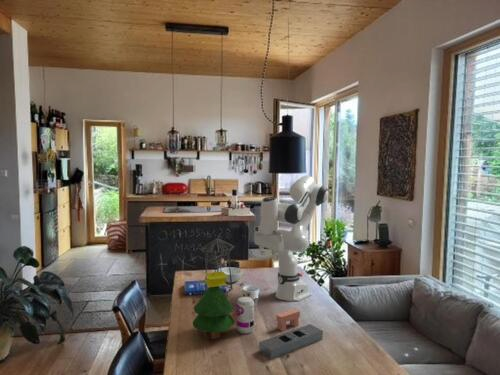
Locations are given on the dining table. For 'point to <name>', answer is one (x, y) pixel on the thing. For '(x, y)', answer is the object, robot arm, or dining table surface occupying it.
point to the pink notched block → (287, 319)
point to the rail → (290, 341)
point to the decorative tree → (213, 307)
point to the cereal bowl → (232, 274)
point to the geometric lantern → (218, 258)
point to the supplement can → (245, 315)
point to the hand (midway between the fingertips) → (268, 256)
